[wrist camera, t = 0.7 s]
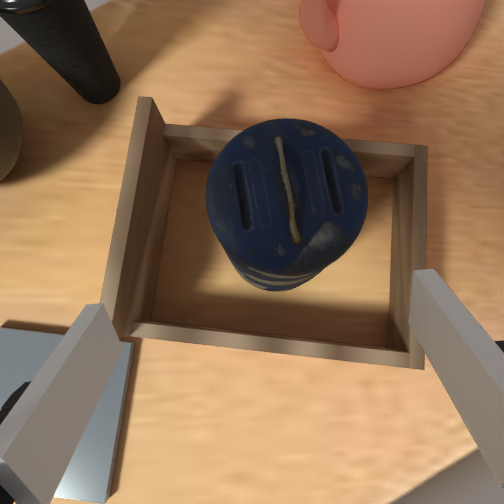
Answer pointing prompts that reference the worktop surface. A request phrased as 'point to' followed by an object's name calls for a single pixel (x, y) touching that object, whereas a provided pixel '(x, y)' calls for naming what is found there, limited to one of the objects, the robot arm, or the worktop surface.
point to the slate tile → (100, 424)
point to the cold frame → (154, 222)
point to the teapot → (389, 37)
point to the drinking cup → (66, 43)
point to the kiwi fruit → (9, 131)
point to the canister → (285, 201)
